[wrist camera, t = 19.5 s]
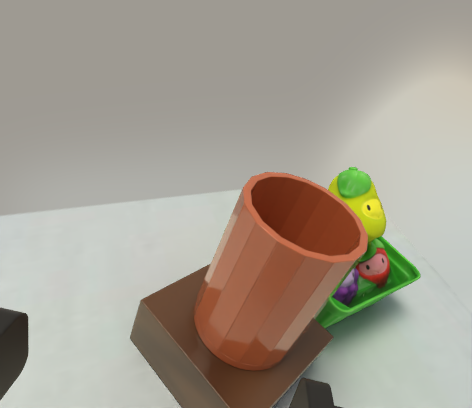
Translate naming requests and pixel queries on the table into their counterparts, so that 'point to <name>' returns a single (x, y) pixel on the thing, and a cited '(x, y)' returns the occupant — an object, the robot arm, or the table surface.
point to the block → (211, 354)
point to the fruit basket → (366, 253)
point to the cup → (275, 269)
